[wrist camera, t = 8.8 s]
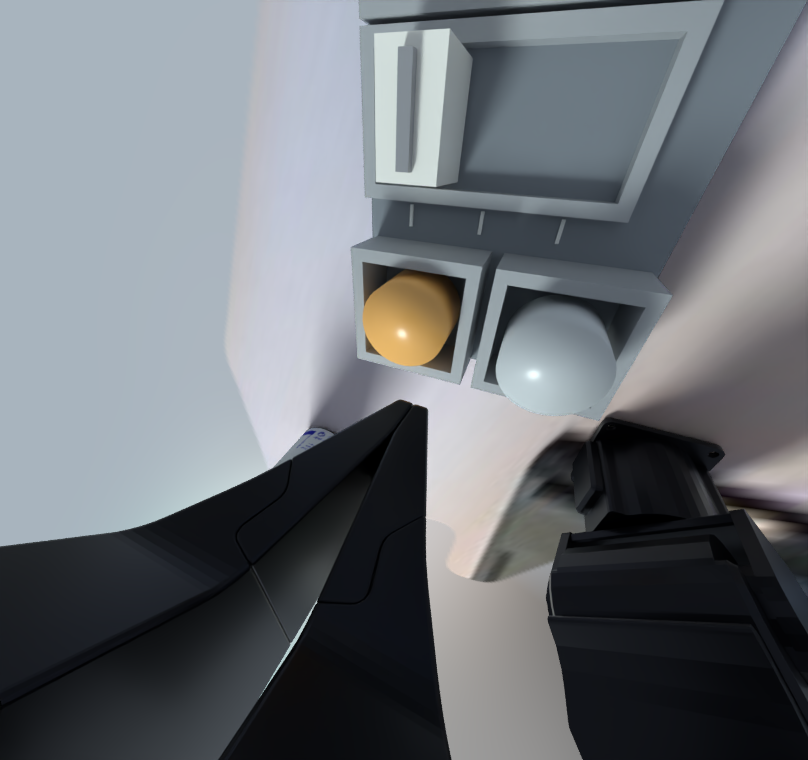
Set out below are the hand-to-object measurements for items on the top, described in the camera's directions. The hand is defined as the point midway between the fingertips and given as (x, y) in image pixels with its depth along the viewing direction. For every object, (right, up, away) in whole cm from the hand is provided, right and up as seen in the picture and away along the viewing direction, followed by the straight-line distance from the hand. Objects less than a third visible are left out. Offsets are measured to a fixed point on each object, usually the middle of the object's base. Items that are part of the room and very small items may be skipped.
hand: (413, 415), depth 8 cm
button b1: (+7, +3, +6) cm, 10 cm away
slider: (+1, +12, +5) cm, 13 cm away
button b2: (+1, +5, +9) cm, 11 cm away
